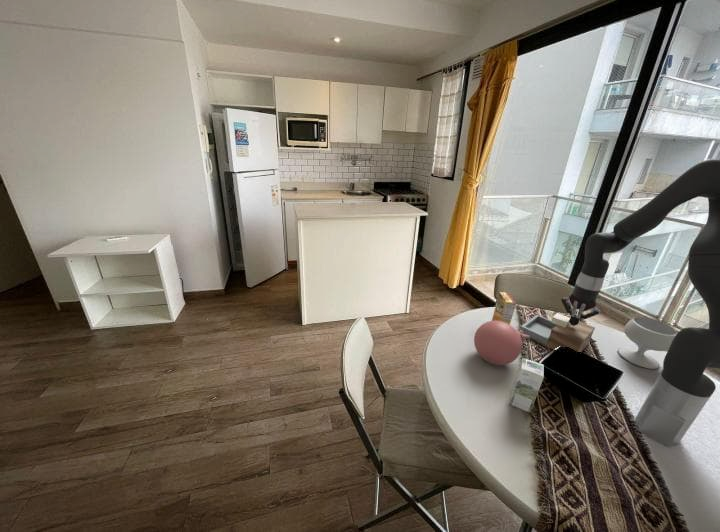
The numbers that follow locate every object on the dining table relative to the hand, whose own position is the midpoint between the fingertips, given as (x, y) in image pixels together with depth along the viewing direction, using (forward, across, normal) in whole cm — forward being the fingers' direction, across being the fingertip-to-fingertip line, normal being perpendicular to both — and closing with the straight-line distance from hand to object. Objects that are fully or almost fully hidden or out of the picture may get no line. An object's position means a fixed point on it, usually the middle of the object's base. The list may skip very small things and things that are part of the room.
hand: (572, 324), depth 114 cm
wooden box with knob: (+9, +1, 0) cm, 9 cm away
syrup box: (+9, +3, -46) cm, 47 cm away
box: (+9, -10, 0) cm, 13 cm away
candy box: (+10, -22, -12) cm, 27 cm away
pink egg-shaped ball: (+9, -12, -32) cm, 35 cm away
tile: (+1, -4, 0) cm, 4 cm away
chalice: (+10, +20, +13) cm, 26 cm away
